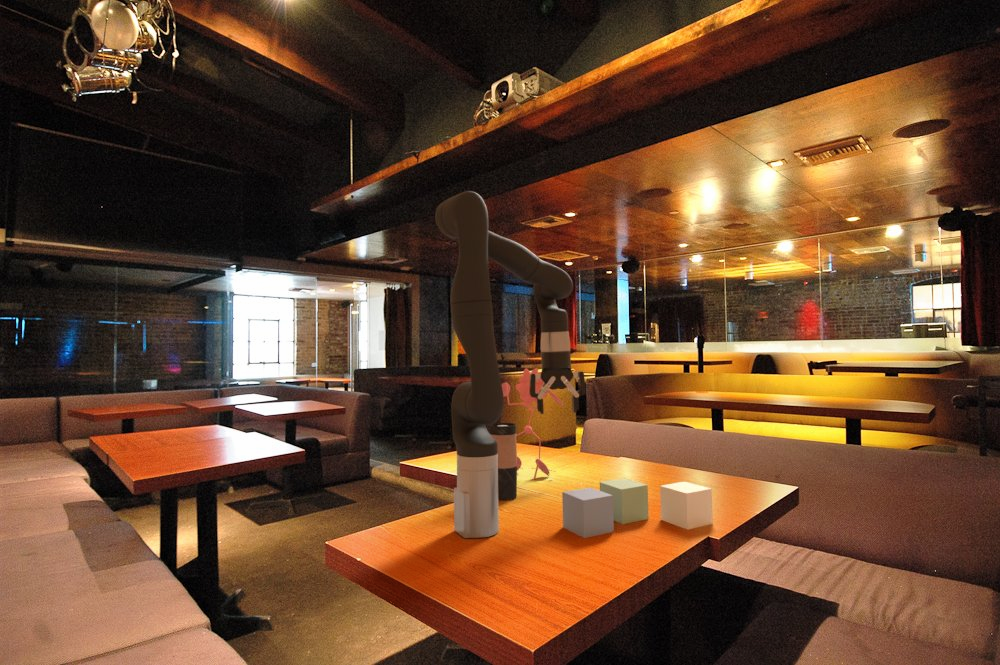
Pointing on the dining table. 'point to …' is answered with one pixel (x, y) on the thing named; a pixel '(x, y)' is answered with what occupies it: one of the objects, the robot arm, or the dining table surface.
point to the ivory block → (686, 505)
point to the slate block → (588, 512)
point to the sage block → (627, 499)
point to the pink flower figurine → (525, 396)
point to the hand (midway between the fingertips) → (558, 412)
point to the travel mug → (506, 459)
